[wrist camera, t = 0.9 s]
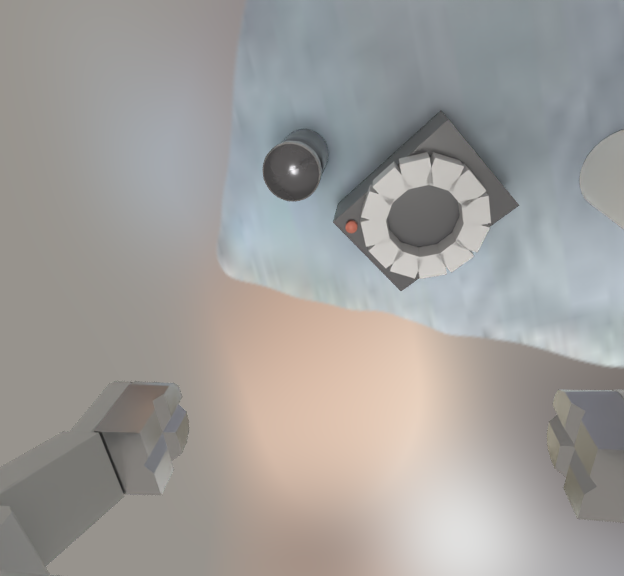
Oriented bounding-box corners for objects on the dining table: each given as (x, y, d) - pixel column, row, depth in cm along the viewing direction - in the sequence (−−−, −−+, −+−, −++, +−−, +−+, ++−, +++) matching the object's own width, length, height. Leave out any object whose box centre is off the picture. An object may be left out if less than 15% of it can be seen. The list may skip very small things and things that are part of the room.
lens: (304, 116, 39) (290, 129, 33) (340, 154, 40) (332, 174, 34) (270, 153, 41) (250, 171, 35) (305, 188, 42) (292, 213, 36)
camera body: (437, 106, 37) (448, 118, 31) (506, 191, 39) (529, 217, 33) (335, 201, 42) (327, 227, 36) (401, 270, 45) (404, 305, 39)
